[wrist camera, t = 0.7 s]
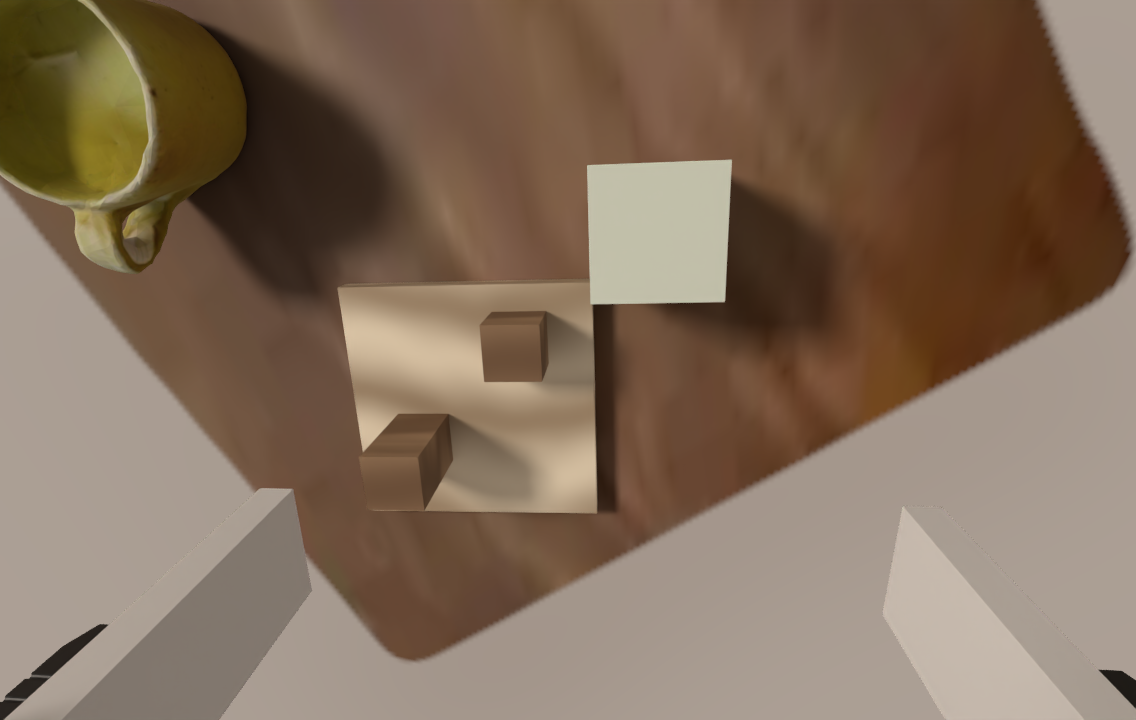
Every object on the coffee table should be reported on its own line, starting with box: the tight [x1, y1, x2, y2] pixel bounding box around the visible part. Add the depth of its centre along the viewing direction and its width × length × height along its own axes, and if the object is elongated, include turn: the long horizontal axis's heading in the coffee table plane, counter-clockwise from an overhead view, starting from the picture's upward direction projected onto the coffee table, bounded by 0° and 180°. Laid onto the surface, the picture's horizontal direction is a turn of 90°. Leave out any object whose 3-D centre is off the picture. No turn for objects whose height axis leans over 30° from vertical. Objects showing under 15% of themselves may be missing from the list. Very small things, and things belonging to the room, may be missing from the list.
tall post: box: [359, 414, 453, 511], centre depth 32 cm, size 3×3×6 cm
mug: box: [0, 0, 247, 274], centre depth 28 cm, size 12×10×10 cm
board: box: [338, 279, 598, 513], centre depth 33 cm, size 14×14×4 cm
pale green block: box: [587, 160, 732, 304], centre depth 27 cm, size 6×6×8 cm
